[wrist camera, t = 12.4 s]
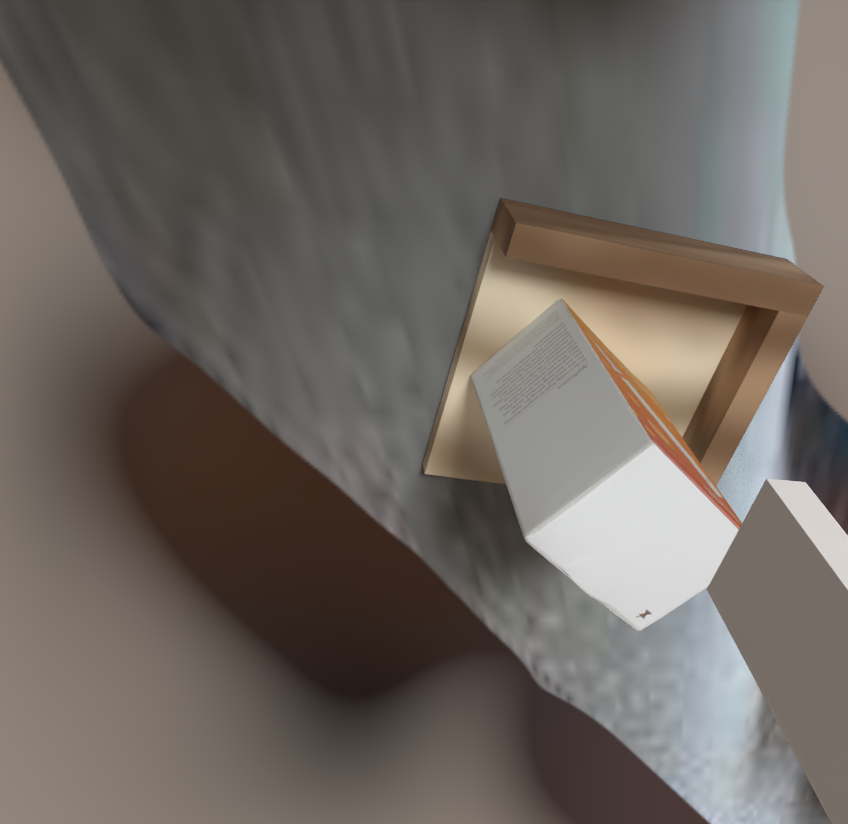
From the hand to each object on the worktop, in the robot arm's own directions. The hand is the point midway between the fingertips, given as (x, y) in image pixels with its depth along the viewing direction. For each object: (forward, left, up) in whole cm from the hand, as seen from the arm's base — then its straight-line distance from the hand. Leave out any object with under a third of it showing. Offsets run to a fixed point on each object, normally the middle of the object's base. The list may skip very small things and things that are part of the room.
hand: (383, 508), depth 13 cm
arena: (+10, +15, -26) cm, 31 cm away
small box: (+10, +13, -25) cm, 30 cm away
